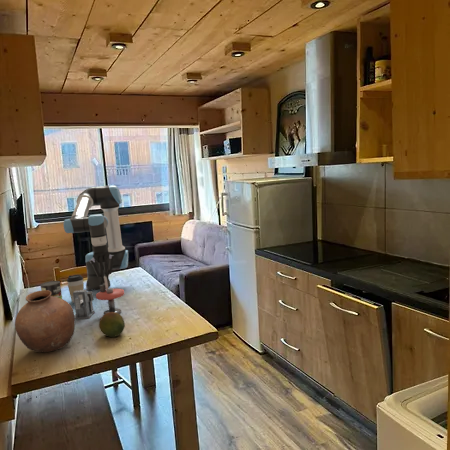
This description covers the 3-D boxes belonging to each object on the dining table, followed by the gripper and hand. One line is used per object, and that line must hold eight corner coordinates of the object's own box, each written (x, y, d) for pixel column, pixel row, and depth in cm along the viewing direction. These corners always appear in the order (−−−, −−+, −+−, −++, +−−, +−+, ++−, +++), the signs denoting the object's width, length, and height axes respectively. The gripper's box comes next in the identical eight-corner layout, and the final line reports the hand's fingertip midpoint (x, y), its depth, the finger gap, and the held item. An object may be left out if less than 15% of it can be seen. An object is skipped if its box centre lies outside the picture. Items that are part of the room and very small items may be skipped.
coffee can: (67, 304, 233) (63, 280, 231) (56, 310, 223) (52, 285, 221) (51, 304, 235) (47, 280, 233) (39, 310, 225) (36, 286, 223)
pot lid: (130, 293, 212) (128, 283, 211) (108, 301, 200) (107, 291, 200) (112, 290, 220) (110, 281, 219) (90, 298, 208) (89, 288, 207)
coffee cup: (88, 297, 242) (85, 273, 240) (81, 302, 233) (78, 277, 231) (74, 298, 243) (70, 273, 241) (66, 303, 234) (63, 278, 232)
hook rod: (87, 300, 223) (85, 288, 222) (93, 299, 223) (92, 287, 222) (75, 311, 205) (73, 299, 204) (81, 311, 205) (80, 298, 204)
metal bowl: (106, 311, 216) (104, 294, 215) (123, 309, 216) (121, 293, 214) (101, 317, 207) (99, 300, 206) (118, 315, 207) (116, 298, 205)
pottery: (68, 333, 189) (61, 280, 185) (85, 348, 170) (77, 290, 167) (14, 349, 175) (5, 293, 172) (26, 367, 157) (16, 305, 153)
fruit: (116, 327, 191) (114, 307, 189) (133, 333, 183) (131, 311, 181) (95, 336, 182) (92, 315, 181) (111, 342, 174) (109, 320, 173)
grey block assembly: (80, 311, 219) (77, 286, 217) (97, 309, 219) (93, 285, 217) (71, 319, 207) (68, 294, 205) (89, 318, 206) (85, 292, 205)
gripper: (89, 247, 204) (96, 293, 207) (114, 243, 210) (120, 286, 214) (85, 246, 210) (92, 290, 213) (109, 241, 217) (115, 284, 220)
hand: (106, 288), depth 214 cm, fingers closed
